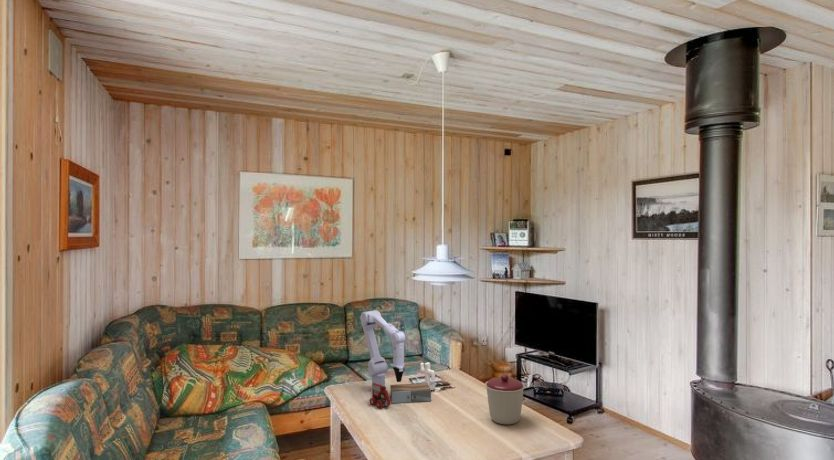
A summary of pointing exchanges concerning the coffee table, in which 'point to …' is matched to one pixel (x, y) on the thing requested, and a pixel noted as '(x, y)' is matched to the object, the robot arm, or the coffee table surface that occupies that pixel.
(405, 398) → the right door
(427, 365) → the figurine
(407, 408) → the coffee table surface
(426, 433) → the coffee table surface
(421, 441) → the coffee table surface
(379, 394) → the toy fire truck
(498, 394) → the canister
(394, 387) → the cabinet
